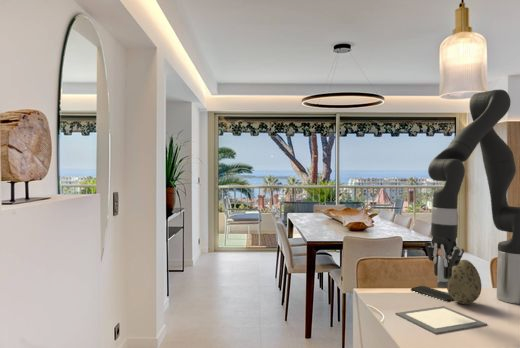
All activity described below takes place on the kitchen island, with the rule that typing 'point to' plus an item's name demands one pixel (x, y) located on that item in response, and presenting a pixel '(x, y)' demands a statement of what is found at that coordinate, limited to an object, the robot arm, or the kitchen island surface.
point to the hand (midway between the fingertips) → (442, 276)
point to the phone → (433, 293)
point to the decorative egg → (464, 283)
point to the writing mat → (440, 319)
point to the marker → (441, 271)
